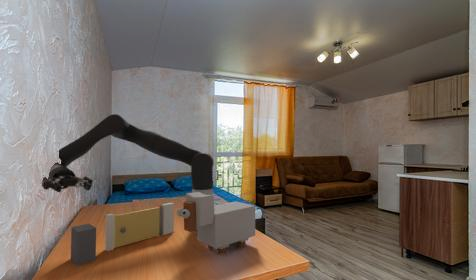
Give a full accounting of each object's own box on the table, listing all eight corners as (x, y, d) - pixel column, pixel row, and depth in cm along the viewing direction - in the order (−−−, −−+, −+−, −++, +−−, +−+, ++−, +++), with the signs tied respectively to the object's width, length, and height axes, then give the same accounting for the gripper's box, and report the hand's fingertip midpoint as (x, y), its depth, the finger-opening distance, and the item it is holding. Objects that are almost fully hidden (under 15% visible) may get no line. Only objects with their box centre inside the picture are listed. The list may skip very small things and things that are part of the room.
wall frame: (171, 231, 103) (171, 202, 104) (173, 232, 102) (174, 203, 102) (105, 249, 84) (105, 214, 84) (107, 251, 83) (108, 215, 83)
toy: (171, 257, 78) (171, 194, 78) (236, 237, 96) (235, 186, 97) (188, 270, 70) (188, 199, 70) (255, 244, 88) (255, 189, 89)
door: (157, 234, 98) (158, 207, 99) (161, 236, 96) (161, 208, 96) (113, 246, 86) (114, 215, 86) (117, 249, 84) (117, 216, 84)
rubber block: (88, 253, 81) (89, 223, 81) (95, 260, 76) (96, 227, 76) (70, 258, 77) (71, 226, 77) (77, 265, 72) (77, 231, 73)
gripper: (37, 166, 86) (51, 178, 76) (82, 166, 97) (99, 176, 87) (34, 187, 86) (47, 201, 76) (79, 184, 97) (96, 197, 87)
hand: (75, 188), depth 81 cm, fingers open, 8 cm apart
